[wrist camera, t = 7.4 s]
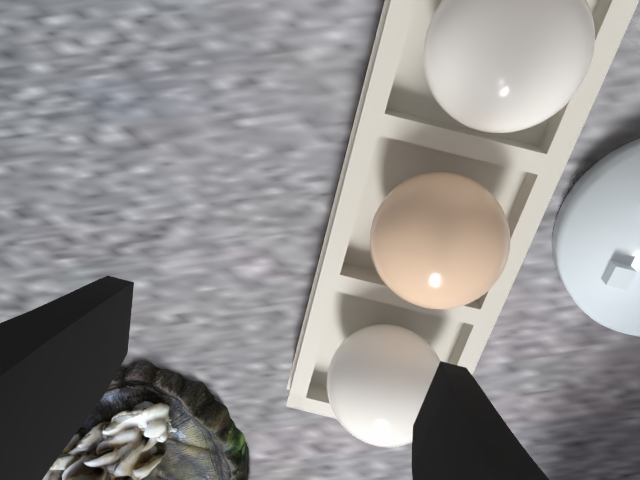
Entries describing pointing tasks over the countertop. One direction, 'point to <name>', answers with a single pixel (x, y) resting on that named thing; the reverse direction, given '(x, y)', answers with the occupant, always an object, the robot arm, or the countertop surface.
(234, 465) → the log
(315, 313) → the carton
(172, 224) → the countertop surface
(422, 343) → the egg white far
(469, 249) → the egg brown
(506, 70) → the egg white near
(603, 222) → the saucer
